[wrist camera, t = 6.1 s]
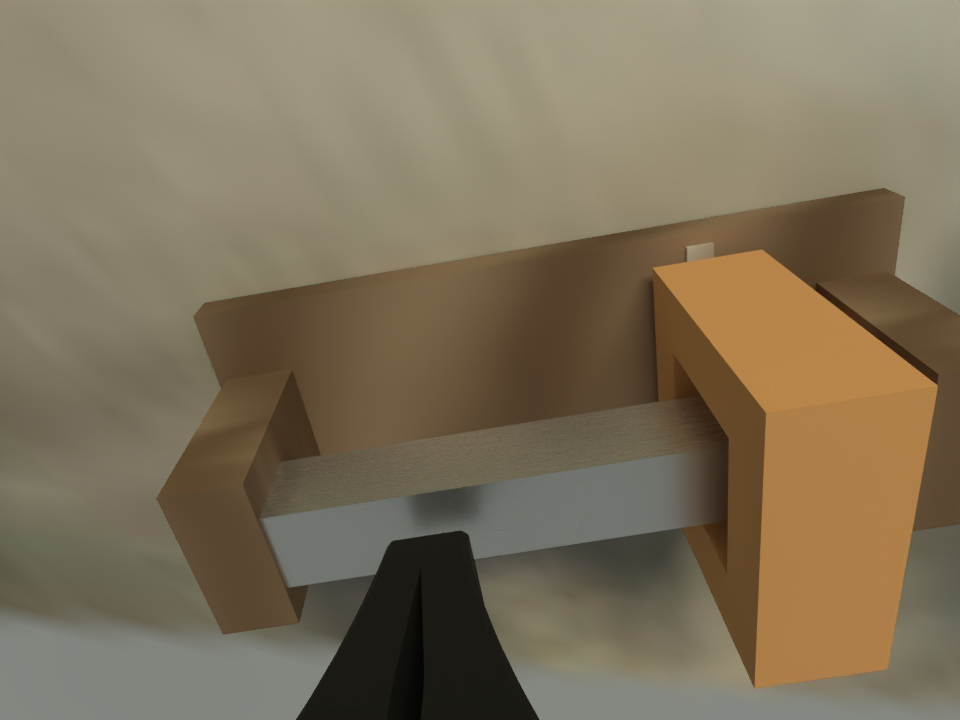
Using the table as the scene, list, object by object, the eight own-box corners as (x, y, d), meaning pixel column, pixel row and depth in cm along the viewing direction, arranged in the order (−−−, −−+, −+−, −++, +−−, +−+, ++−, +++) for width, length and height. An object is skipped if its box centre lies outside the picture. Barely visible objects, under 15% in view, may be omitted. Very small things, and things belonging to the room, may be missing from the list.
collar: (762, 249, 15) (938, 385, 9) (754, 468, 18) (887, 669, 12) (652, 267, 15) (766, 413, 10) (662, 483, 18) (754, 688, 12)
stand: (884, 188, 16) (1068, 264, 11) (854, 438, 19) (987, 579, 14) (204, 303, 16) (107, 421, 12) (289, 526, 19) (240, 689, 15)
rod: (946, 341, 14) (1028, 396, 12) (930, 430, 15) (1003, 494, 13) (206, 460, 14) (169, 531, 13) (239, 537, 15) (210, 614, 14)
